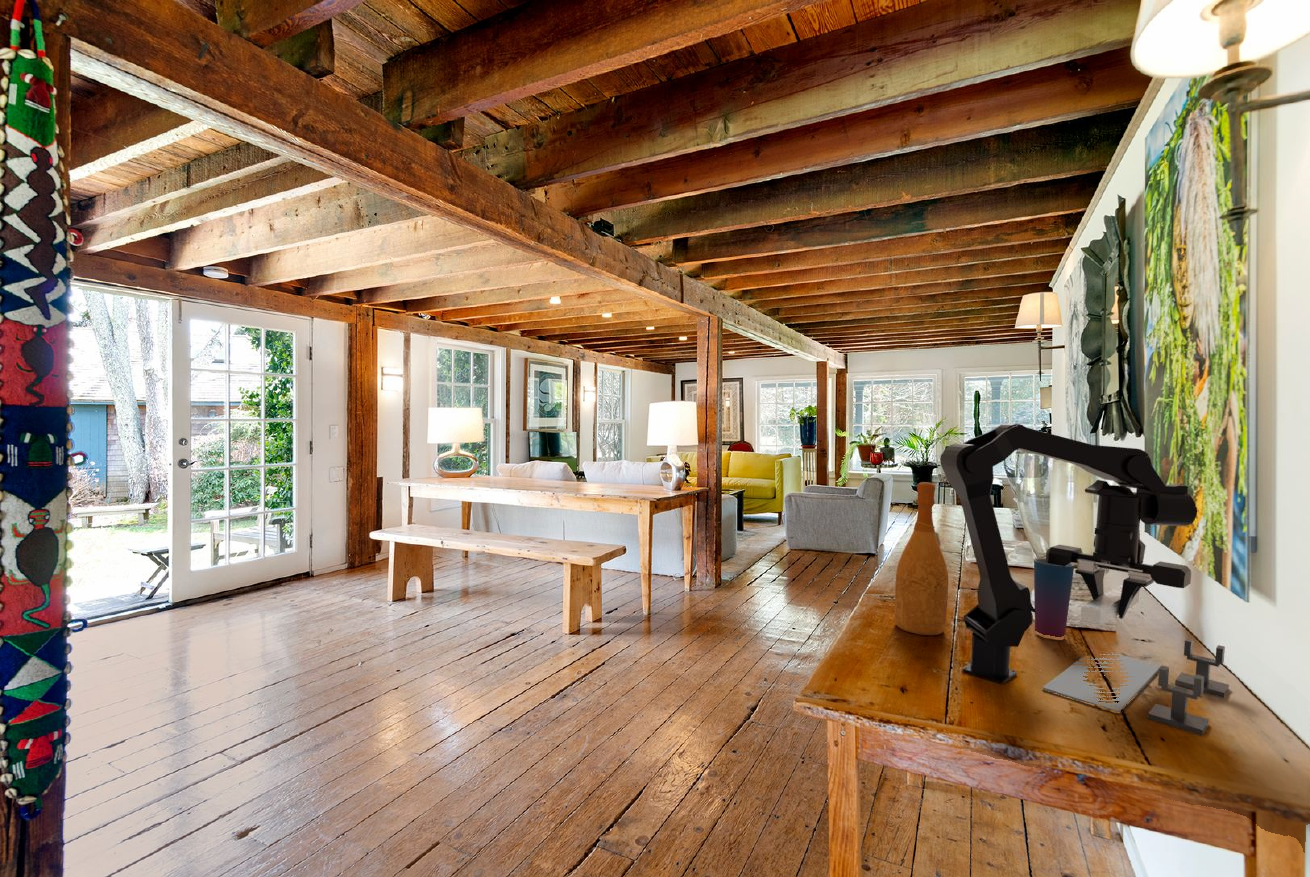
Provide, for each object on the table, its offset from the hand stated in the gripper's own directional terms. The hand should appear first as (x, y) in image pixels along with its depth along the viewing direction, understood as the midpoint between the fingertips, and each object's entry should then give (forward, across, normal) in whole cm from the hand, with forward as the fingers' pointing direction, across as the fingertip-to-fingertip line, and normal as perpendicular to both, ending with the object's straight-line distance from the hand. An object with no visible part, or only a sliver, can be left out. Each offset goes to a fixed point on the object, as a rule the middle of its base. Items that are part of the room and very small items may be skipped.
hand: (1110, 615), depth 103 cm
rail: (-1, 0, 0) cm, 1 cm away
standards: (+11, -11, 0) cm, 15 cm away
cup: (+11, +13, -16) cm, 24 cm away
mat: (+11, 0, 0) cm, 11 cm away
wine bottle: (+11, +31, +2) cm, 33 cm away
